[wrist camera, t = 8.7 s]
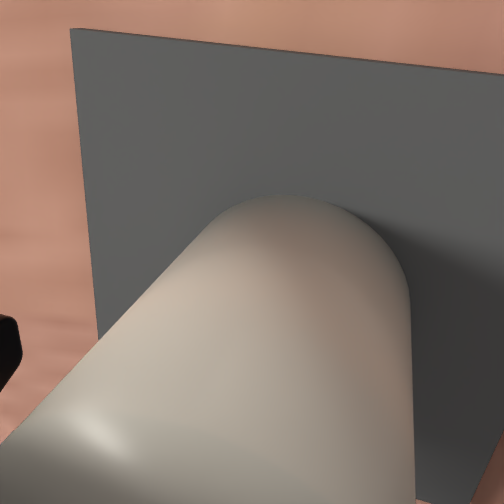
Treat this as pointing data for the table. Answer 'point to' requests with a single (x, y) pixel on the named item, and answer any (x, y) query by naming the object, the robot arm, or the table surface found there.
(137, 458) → the cream rounded cone
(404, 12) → the table surface
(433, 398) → the mat
